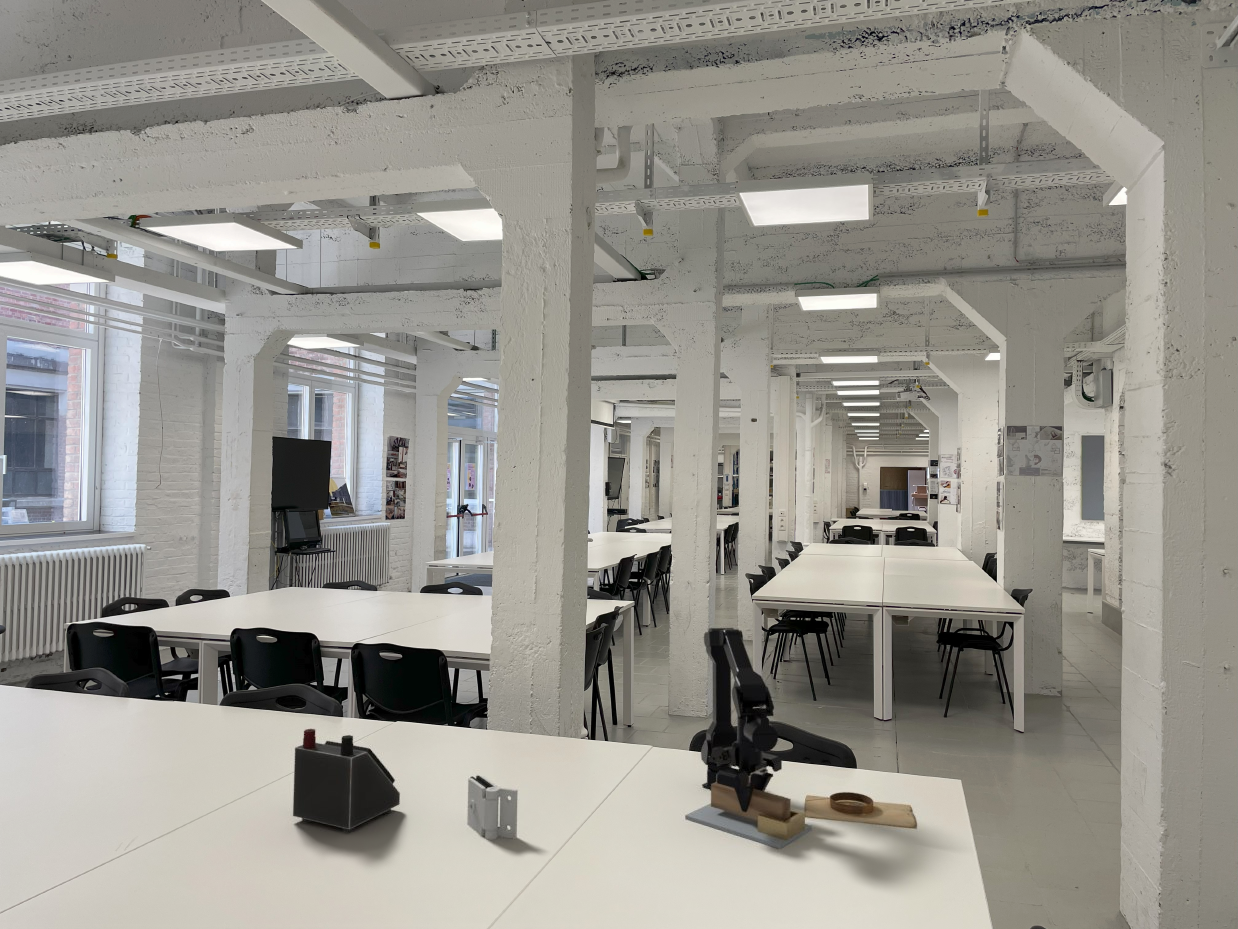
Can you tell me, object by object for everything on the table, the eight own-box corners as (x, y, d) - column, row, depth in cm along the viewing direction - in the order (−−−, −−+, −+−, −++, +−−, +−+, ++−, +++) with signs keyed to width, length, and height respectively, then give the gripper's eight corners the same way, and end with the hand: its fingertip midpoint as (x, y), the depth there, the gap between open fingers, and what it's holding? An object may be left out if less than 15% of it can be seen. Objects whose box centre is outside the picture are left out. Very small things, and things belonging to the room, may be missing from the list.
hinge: (517, 838, 176) (518, 790, 177) (497, 845, 172) (498, 796, 173) (478, 819, 186) (479, 774, 186) (458, 826, 182) (459, 779, 182)
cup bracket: (776, 821, 185) (776, 805, 186) (804, 829, 181) (805, 813, 181) (757, 831, 179) (757, 815, 179) (786, 840, 175) (786, 823, 175)
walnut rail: (720, 801, 193) (720, 779, 193) (790, 822, 181) (790, 799, 181) (710, 806, 190) (711, 784, 190) (781, 827, 178) (781, 803, 178)
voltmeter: (400, 810, 191) (402, 722, 192) (349, 836, 176) (351, 740, 177) (346, 798, 198) (348, 713, 198) (292, 822, 183) (295, 730, 184)
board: (802, 820, 190) (802, 806, 190) (802, 797, 205) (802, 784, 205) (917, 832, 184) (917, 817, 184) (910, 807, 199) (910, 793, 199)
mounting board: (719, 802, 199) (719, 799, 199) (811, 829, 183) (811, 825, 183) (685, 819, 188) (685, 815, 188) (779, 849, 172) (779, 845, 173)
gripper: (741, 723, 198) (740, 789, 198) (696, 739, 184) (695, 811, 184) (783, 732, 191) (782, 801, 191) (739, 750, 177) (738, 824, 176)
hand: (749, 809), depth 185 cm, fingers closed on walnut rail, 4 cm apart
